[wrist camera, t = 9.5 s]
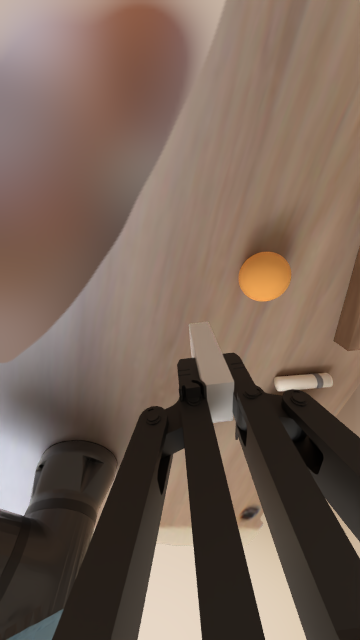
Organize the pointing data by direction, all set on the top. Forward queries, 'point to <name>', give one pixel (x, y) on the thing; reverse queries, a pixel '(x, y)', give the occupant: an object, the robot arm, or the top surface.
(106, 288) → the top surface
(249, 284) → the ball
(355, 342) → the brown wooden bar
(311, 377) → the pin
